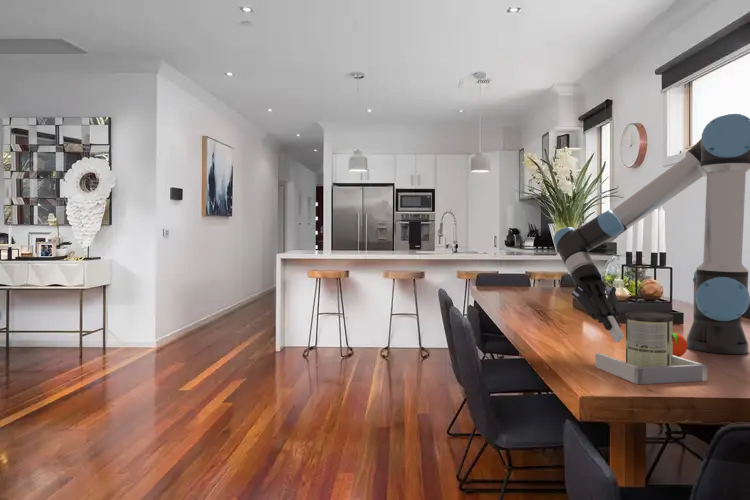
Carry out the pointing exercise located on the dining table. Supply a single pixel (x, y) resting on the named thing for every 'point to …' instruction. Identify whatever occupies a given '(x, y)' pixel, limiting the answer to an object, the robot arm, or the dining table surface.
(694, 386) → the dining table surface
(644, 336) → the coffee can
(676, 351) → the tomato
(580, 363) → the dining table surface
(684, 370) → the bay
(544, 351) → the dining table surface
